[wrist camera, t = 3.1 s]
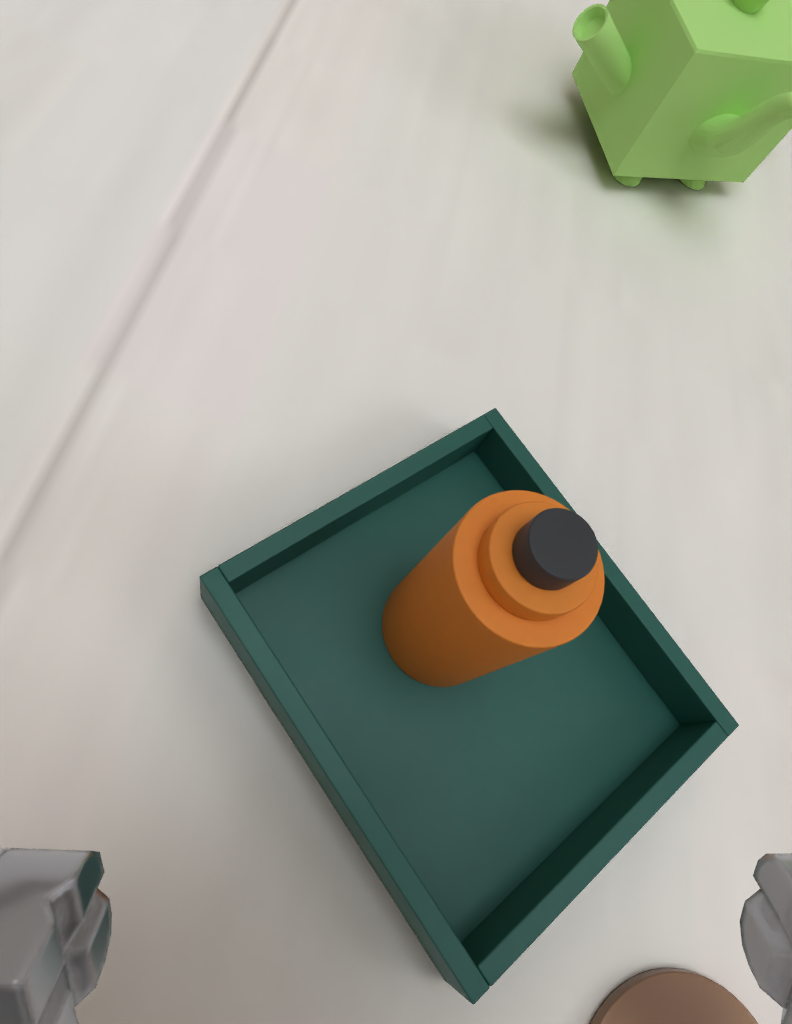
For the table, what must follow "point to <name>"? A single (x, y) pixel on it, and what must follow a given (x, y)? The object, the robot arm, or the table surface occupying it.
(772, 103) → the kettle
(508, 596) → the glue bottle
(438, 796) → the tray
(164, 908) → the table surface
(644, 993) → the coaster
